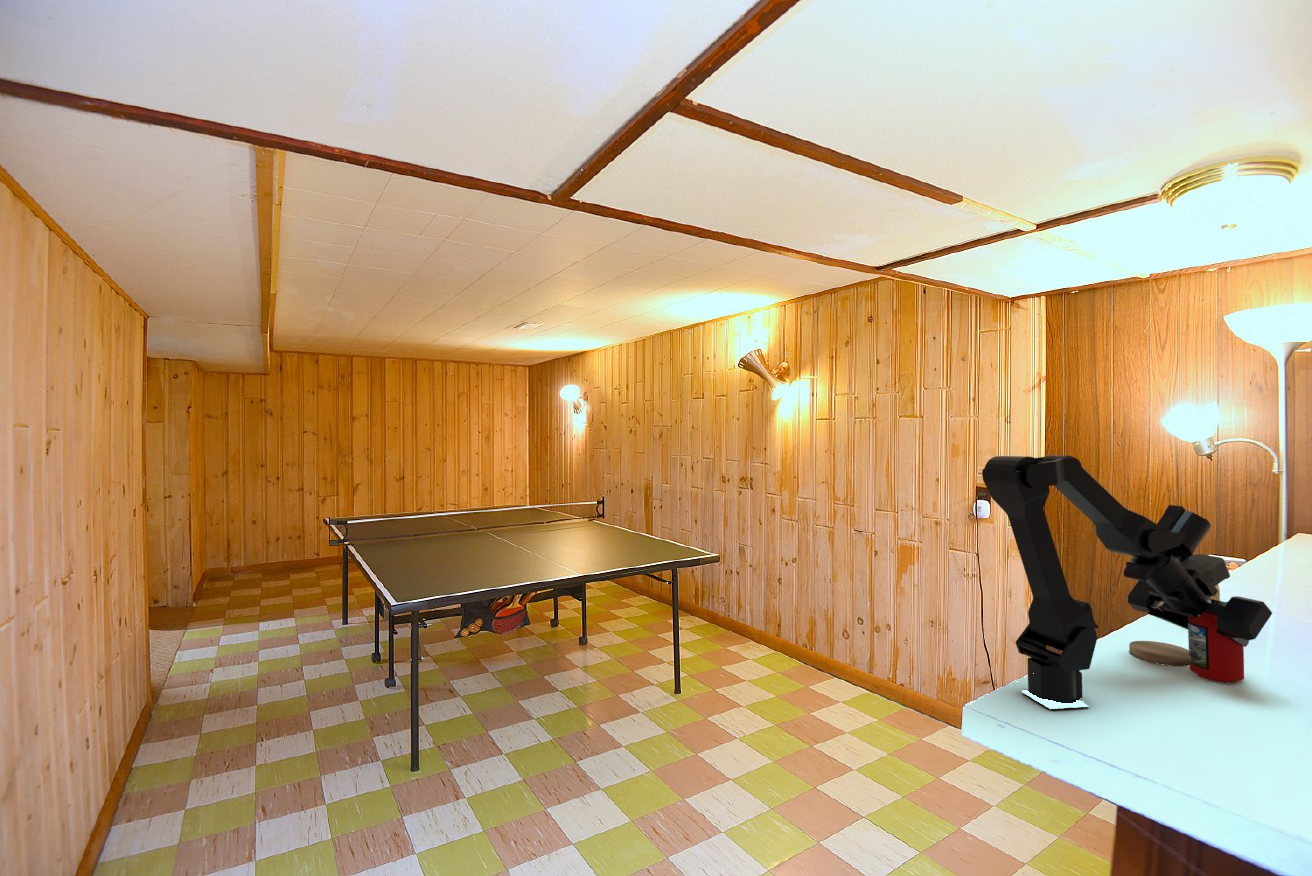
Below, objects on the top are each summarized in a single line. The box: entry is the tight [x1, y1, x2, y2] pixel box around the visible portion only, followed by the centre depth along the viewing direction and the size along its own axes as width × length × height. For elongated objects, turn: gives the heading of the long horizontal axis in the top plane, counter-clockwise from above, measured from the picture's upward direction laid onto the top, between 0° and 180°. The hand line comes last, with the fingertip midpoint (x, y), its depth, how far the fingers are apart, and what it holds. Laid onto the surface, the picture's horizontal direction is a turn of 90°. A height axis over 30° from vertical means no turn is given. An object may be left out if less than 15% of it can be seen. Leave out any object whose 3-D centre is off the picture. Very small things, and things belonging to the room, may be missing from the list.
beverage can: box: [1187, 612, 1245, 684], centre depth 100 cm, size 7×7×12 cm
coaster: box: [1128, 640, 1189, 667], centre depth 109 cm, size 9×9×2 cm
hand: (1221, 637), depth 100 cm, fingers closed on beverage can, 7 cm apart
